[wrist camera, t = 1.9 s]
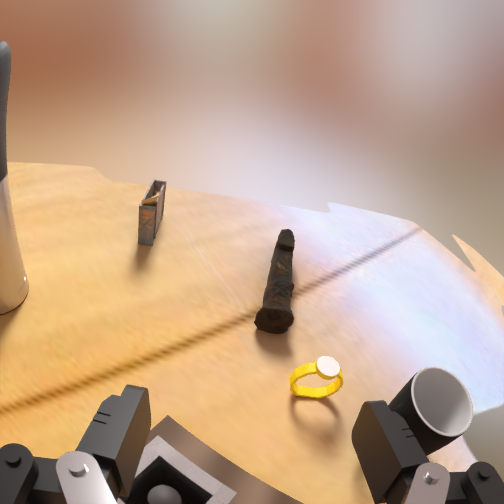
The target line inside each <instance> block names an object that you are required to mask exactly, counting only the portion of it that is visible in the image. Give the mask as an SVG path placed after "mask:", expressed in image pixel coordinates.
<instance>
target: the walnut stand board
mask: <svg viewBox="0 0 504 504" xmlns="http://www.w3.org/2000/svg"><path fill="white" fill-rule="evenodd" d="M157 435H158V436H159V437H161V438H162V439H163V440H164V441H165V442H167V443H168V444H169V445H170V446H172V447H173V448H174V449H175V450H177V451H178V452H179V453H181V454H182V455H183V456H184V457H186V458H187V459H188V460H190V461H191V462H192V463H194V464H195V465H197V466H198V467H199V468H201V469H202V470H203V471H205V472H206V473H208V474H209V475H211V476H212V477H214V478H215V479H217V480H218V481H219V482H221V483H223V484H224V485H226V486H227V487H229V488H230V489H232V490H233V491H235V492H237V494H236V495H235V496H234V497H233V499H232V500H231V501H230V502H229V503H228V504H303V503H301V502H299V501H297V500H295V499H293V498H292V497H290V496H288V495H286V494H284V493H282V492H280V491H278V490H277V489H275V488H273V487H271V486H270V485H268V484H266V483H264V482H263V481H261V480H259V479H258V478H256V477H254V476H253V475H251V474H249V473H248V472H246V471H244V470H243V469H241V468H240V467H238V466H237V465H235V464H234V463H232V462H231V461H229V460H228V459H226V458H225V457H223V456H222V455H220V454H219V453H217V452H216V451H214V450H213V449H212V448H210V447H209V446H207V445H206V444H205V443H203V442H202V441H200V440H199V439H198V438H196V437H195V436H194V435H192V434H191V433H190V432H188V431H187V430H186V429H185V428H183V427H182V426H181V425H179V424H178V423H177V422H176V421H174V420H173V419H172V418H171V417H170V416H168V415H167V416H166V417H165V418H164V419H163V420H162V421H161V422H160V423H159V424H157V425H156V426H155V427H154V428H153V429H152V430H151V431H150V432H149V435H148V438H147V441H146V444H145V446H146V445H147V444H149V443H150V442H151V441H152V440H153V439H154V438H155V437H156V436H157ZM143 504H189V503H188V502H187V501H185V500H184V499H182V498H181V497H180V495H179V493H178V492H177V491H176V490H175V489H173V488H172V487H169V486H166V485H164V484H163V485H159V486H156V487H154V488H152V489H151V490H150V492H149V493H148V499H147V500H146V501H145V502H144V503H143Z"/></svg>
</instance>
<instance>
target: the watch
mask: <svg viewBox="0 0 504 504" xmlns="http://www.w3.org/2000/svg"><path fill="white" fill-rule="evenodd" d="M316 373H317V374H318V375H319V376H320V377H322V378H323V379H327V380H331V379H334V378H335V377H337V379H336V380H335V382H333V383H332V384H330V385H328V386H326V387H321V388H317V389H315V388H309V387H303V386H297V385H296V384H295V382H296V381H297V380H298V379H300V378H302V377H304V376H306V375H308V374H316ZM342 385H343V377H342V371H341V369H340V367H339V364H338V363H337V361H336V360H334V359H333V358H331V357H328V356H322V357H320V358H319V359H318V360H317V361H316V362H313V363H308V364H305V365H303V366H300V367H298V368H297V369H295V370H294V371H293V372H292V374H291V375H290V390H291V392H292V393H293V394H294V395H296V396H303V397H310V398H317V399H319V398H323V397H327V396H330V395H332V394H334V393H336V392H337V391H338V390H339V389H340V388H341V387H342Z"/></svg>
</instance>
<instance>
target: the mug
mask: <svg viewBox="0 0 504 504" xmlns="http://www.w3.org/2000/svg"><path fill="white" fill-rule="evenodd" d="M388 407H389V408H390V410H391V412H394V411H395V412H396V413H398V414H399V415H400V416H401V417H403V418H404V419H405V421H406V423H407V424H408V426H409V429H410V430H411V431H412V433H413V434H414V437H415V438H416V439H417V441H418V443H419V444H420V446H421V448H422V450H423V451H424V453H425V455H426V456H427V455H429V454H431V453H433V452H435V451H437V450H439V449H440V448H442V447H444V446H446V445H447V444H449V443H451V442H452V441H454V440H455V439H457V438H458V437H459V436H461V435H462V434H463V433H464V432H465V431H466V430H467V429H468V428H469V426H470V424H471V422H472V418H473V405H472V401H471V398H470V395H469V393H468V391H467V389H466V388H465V386H464V385H463V384H462V382H461V381H460V380H459V379H458V378H457V377H456V376H454V375H453V374H452V373H450V372H448V371H447V370H444V369H442V368H438V367H427V368H424V369H421V370H420V371H419V372H417V373H416V374H415V375H414V376H413V377H412V378H411V379H410V380H409V382H408V383H407V384H406V385H405V386H404V387H403V388H402V389H401V391H400V392H399V393H398V394H397V395H396V397H395V398H394V399H393V400H392V401H391V403H390V404H389V405H388Z"/></svg>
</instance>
